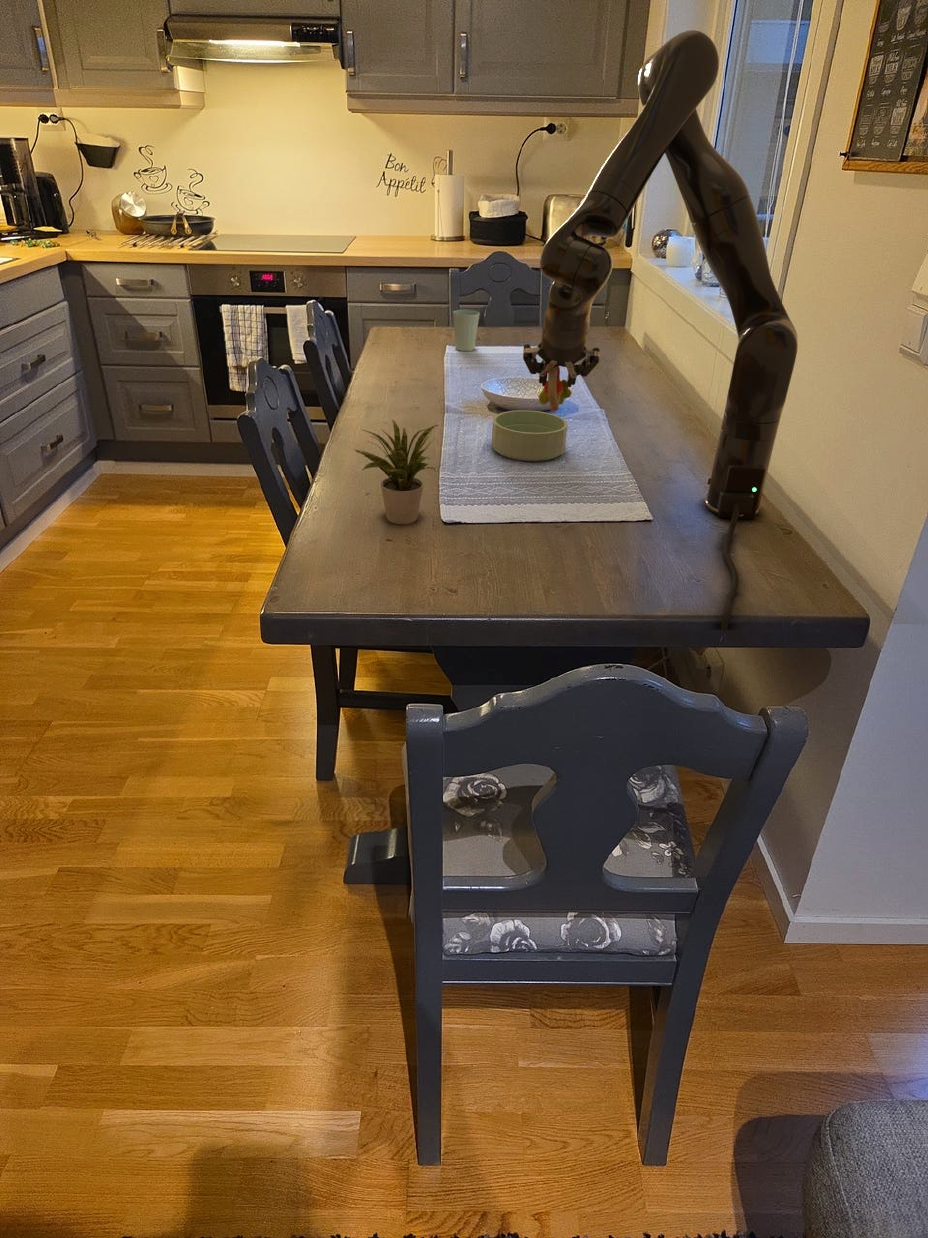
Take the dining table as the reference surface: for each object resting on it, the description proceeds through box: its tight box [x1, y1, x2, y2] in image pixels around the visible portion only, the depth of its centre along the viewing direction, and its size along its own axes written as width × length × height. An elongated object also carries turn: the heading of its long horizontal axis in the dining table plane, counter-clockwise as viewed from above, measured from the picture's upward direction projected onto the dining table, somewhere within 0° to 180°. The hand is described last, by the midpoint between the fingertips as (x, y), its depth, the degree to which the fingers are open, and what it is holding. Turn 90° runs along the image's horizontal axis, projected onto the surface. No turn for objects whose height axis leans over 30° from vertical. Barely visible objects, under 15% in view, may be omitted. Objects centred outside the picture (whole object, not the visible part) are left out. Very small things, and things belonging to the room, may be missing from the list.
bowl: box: [490, 409, 568, 462], centre depth 172 cm, size 15×15×6 cm
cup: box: [452, 309, 480, 352], centre depth 245 cm, size 8×8×10 cm
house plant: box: [354, 419, 440, 525], centre depth 139 cm, size 14×14×16 cm
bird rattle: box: [537, 366, 573, 412], centre depth 154 cm, size 6×11×9 cm
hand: (556, 382), depth 156 cm, fingers closed on bird rattle, 4 cm apart
